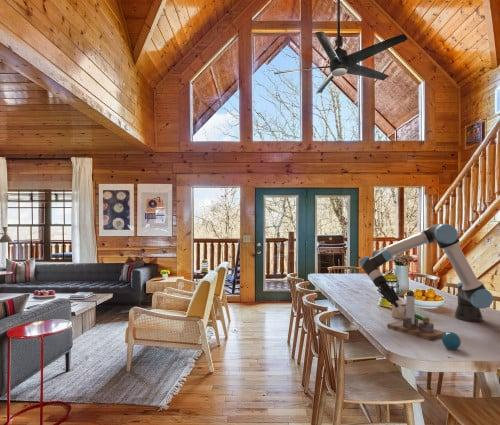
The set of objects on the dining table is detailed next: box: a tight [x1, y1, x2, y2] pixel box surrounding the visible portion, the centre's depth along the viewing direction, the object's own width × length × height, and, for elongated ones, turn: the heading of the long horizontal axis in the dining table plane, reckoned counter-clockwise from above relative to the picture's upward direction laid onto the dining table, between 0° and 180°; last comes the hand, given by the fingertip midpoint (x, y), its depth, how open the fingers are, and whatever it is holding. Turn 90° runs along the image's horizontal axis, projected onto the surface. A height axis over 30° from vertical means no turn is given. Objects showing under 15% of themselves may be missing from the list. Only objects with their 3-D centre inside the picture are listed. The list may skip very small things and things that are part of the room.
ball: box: [441, 331, 462, 350], centre depth 165 cm, size 8×8×8 cm
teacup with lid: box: [391, 298, 407, 320], centre depth 223 cm, size 12×9×12 cm
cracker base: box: [386, 316, 446, 341], centre depth 191 cm, size 26×14×9 cm, turn 33°
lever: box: [405, 289, 416, 325], centre depth 194 cm, size 4×4×19 cm
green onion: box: [415, 312, 430, 321], centre depth 226 cm, size 5×3×30 cm
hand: (402, 311), depth 198 cm, fingers closed
